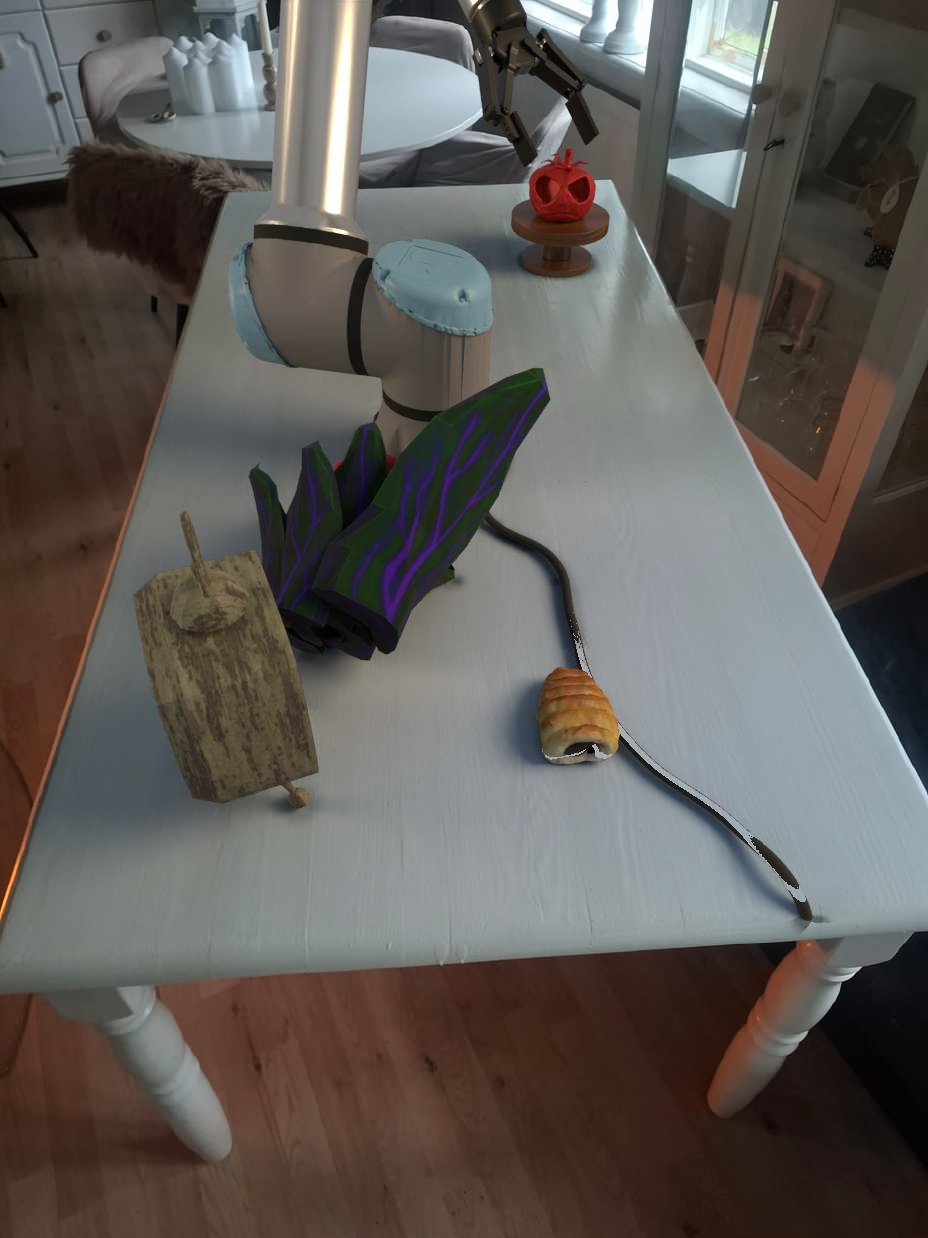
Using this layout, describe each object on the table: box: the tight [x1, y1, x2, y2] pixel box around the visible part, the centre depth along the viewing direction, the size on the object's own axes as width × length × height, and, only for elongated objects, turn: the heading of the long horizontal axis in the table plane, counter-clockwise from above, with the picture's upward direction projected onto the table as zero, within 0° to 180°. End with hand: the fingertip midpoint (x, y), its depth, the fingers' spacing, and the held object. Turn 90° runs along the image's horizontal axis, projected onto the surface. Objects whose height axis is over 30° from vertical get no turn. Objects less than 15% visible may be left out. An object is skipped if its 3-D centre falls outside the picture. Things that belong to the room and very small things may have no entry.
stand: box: [510, 198, 611, 278], centre depth 134 cm, size 15×15×7 cm
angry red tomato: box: [528, 147, 597, 222], centre depth 128 cm, size 10×10×9 cm
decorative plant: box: [248, 367, 552, 662], centre depth 79 cm, size 21×26×30 cm
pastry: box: [535, 666, 619, 765], centre depth 73 cm, size 9×7×4 cm
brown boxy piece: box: [132, 510, 320, 809], centre depth 62 cm, size 14×9×25 cm, turn 22°
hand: (562, 150), depth 125 cm, fingers open, 13 cm apart
